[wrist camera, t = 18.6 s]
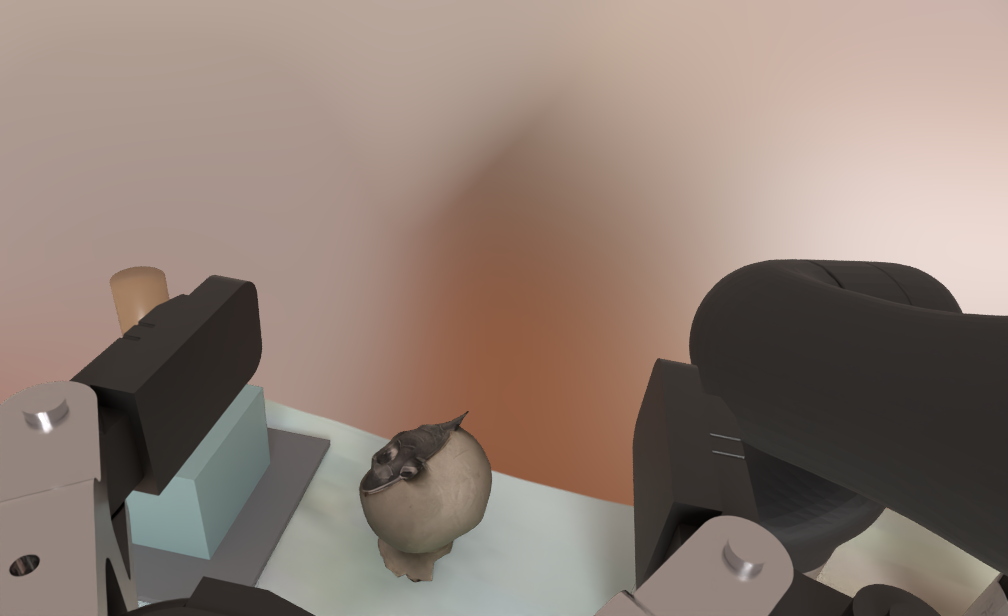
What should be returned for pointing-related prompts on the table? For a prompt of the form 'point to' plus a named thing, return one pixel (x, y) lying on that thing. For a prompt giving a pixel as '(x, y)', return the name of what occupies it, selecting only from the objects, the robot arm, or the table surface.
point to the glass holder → (992, 599)
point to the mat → (238, 526)
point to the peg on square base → (195, 452)
